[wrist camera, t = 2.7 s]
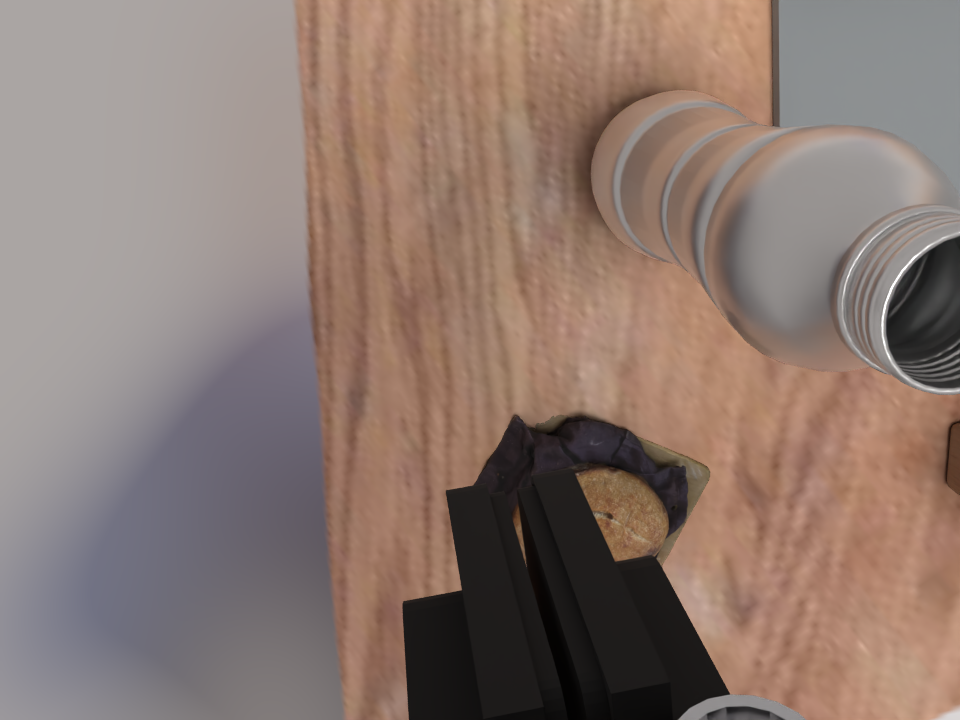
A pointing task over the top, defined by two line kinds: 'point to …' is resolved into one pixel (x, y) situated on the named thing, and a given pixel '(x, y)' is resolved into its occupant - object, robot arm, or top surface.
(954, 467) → the toy block structure
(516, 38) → the top surface
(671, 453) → the bread roll
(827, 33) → the tray
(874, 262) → the plastic bottle
